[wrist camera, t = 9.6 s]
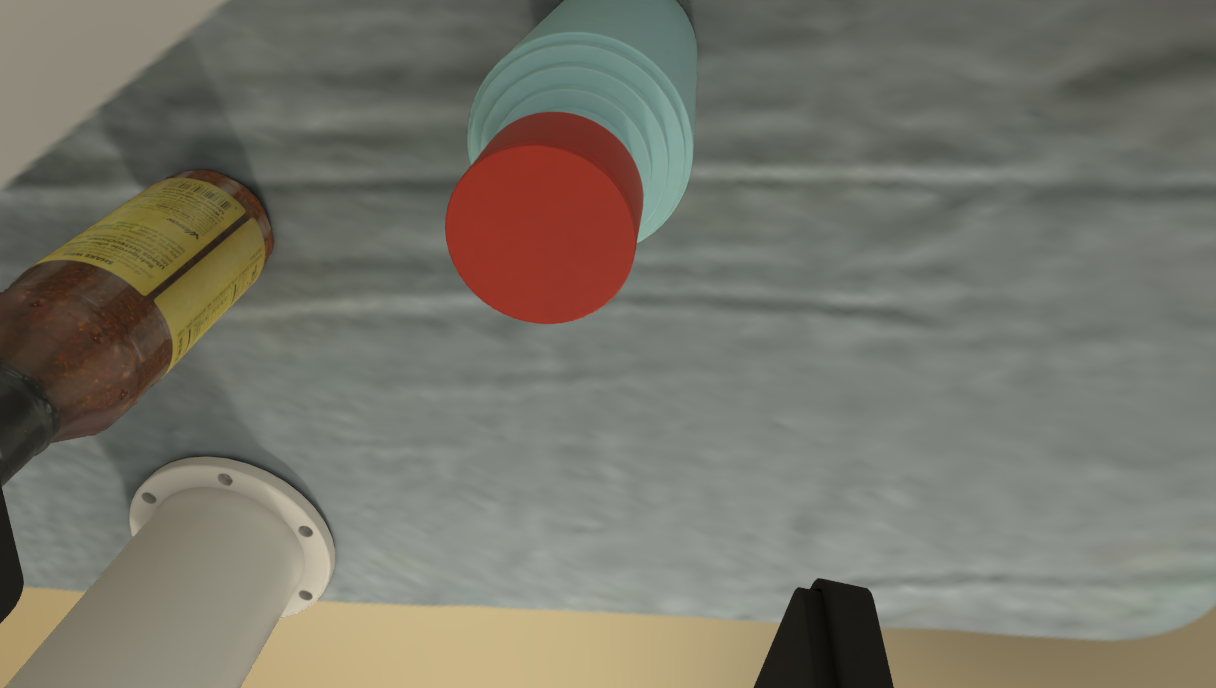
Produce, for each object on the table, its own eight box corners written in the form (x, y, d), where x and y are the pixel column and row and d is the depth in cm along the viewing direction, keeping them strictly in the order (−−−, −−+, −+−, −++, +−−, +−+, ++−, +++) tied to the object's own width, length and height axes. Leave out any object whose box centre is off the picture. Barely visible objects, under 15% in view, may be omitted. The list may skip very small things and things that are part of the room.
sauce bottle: (132, 192, 41) (-272, 424, 24) (230, 143, 40) (-131, 357, 22) (214, 302, 44) (-99, 581, 27) (309, 261, 42) (39, 532, 25)
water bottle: (678, 148, 38) (655, 379, 21) (534, 118, 38) (394, 323, 21) (714, -7, 34) (722, 117, 17) (556, -41, 34) (410, 51, 17)
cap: (485, 93, 20) (455, 124, 17) (661, 132, 20) (654, 169, 18) (466, 254, 22) (436, 302, 20) (624, 289, 22) (614, 341, 20)
